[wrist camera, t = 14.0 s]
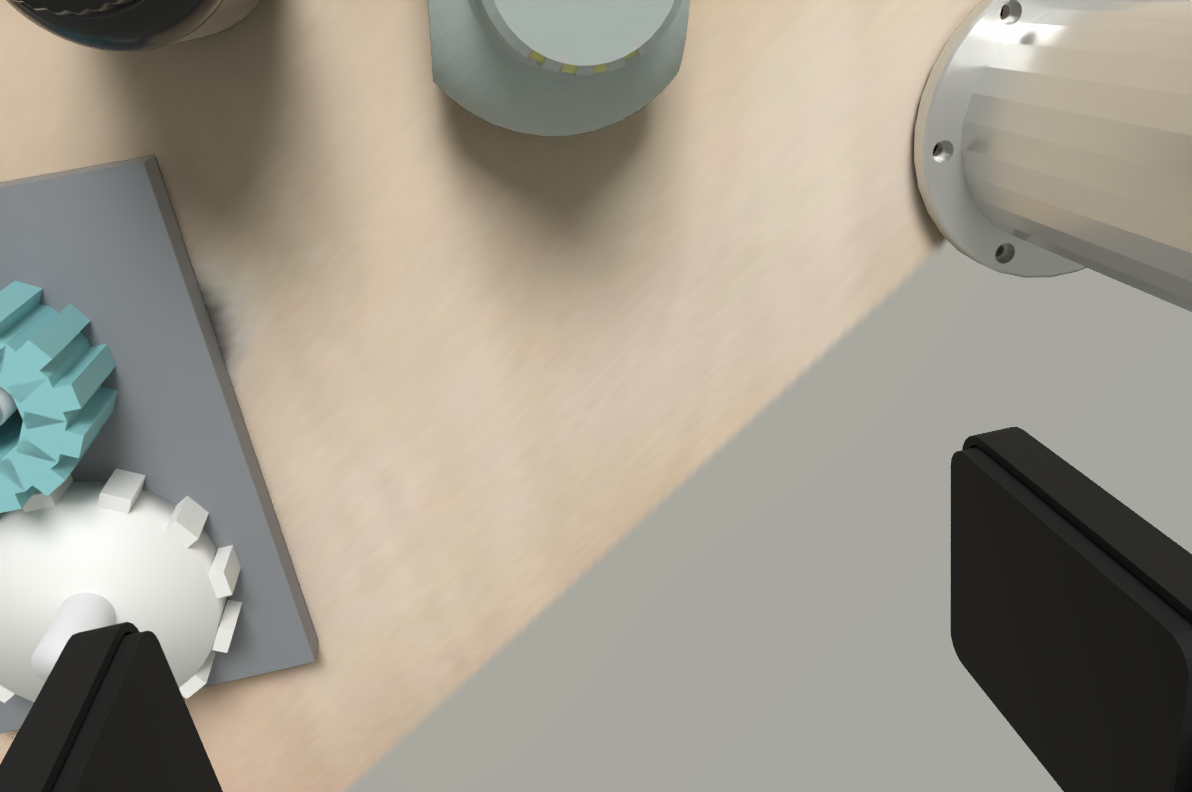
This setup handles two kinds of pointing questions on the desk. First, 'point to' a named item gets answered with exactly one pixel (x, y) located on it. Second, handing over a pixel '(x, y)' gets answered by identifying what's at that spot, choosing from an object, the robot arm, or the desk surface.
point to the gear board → (140, 457)
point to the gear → (47, 393)
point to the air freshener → (555, 59)
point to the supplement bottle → (133, 20)
